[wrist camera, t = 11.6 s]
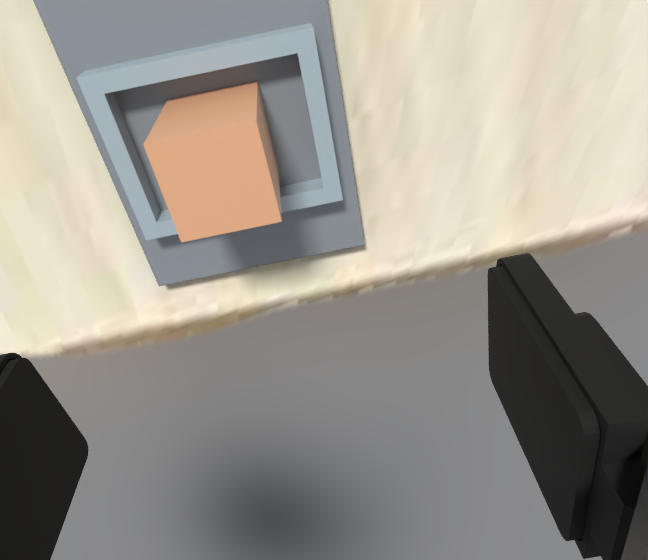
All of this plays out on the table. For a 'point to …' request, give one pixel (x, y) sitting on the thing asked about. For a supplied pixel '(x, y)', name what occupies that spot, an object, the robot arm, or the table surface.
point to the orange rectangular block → (216, 162)
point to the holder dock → (202, 76)
